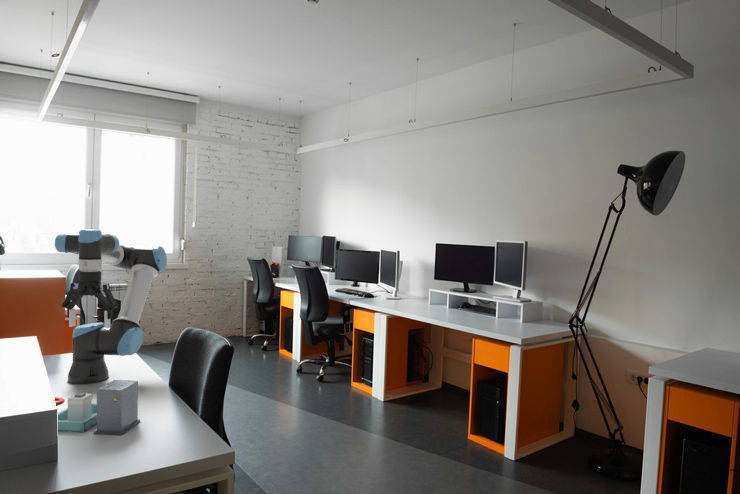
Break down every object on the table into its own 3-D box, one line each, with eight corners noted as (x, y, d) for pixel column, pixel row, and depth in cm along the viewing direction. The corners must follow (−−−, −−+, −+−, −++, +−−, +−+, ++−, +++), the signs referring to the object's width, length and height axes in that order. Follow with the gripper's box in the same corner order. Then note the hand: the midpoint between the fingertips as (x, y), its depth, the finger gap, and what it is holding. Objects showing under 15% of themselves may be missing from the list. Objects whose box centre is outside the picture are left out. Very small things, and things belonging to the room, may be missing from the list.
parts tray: (77, 411, 179) (77, 402, 179) (113, 412, 179) (113, 404, 179) (43, 430, 162) (43, 421, 162) (83, 432, 162) (83, 422, 161)
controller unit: (113, 420, 172) (113, 379, 171) (140, 421, 171) (140, 380, 171) (93, 434, 160) (93, 389, 160) (122, 435, 160) (122, 390, 159)
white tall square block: (77, 416, 173) (77, 391, 173) (91, 417, 173) (92, 392, 172) (67, 422, 168) (67, 396, 167) (82, 423, 168) (82, 397, 167)
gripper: (51, 270, 189) (51, 327, 190) (117, 272, 188) (116, 330, 189) (64, 268, 197) (64, 323, 197) (127, 270, 195) (127, 326, 196)
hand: (89, 327), depth 193 cm, fingers open, 13 cm apart
